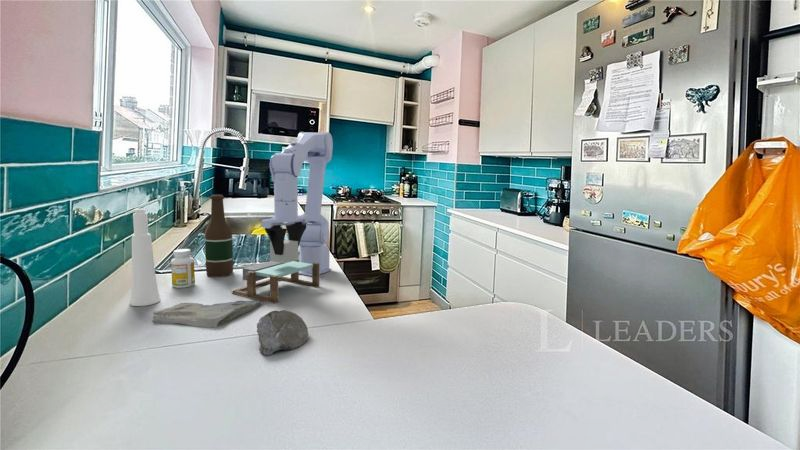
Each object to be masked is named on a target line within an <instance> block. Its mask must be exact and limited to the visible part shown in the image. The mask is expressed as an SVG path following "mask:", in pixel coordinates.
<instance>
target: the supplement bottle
mask: <svg viewBox="0 0 800 450" xmlns="http://www.w3.org/2000/svg"><path fill="white" fill-rule="evenodd" d="M191 254H192V251H191V249H190V248H179V249H178V248H177V249H175V250H173V257H174V258H171V260H170V266H171V267H170V269H171V284H172V287H173V288H176V289H181V288H182V289H183V288H189V287H192V286H194V285H195V284H196V282H195V281H196V278H195V277H196V276H195V261H194V258H193V257H192V256H191Z"/></svg>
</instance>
